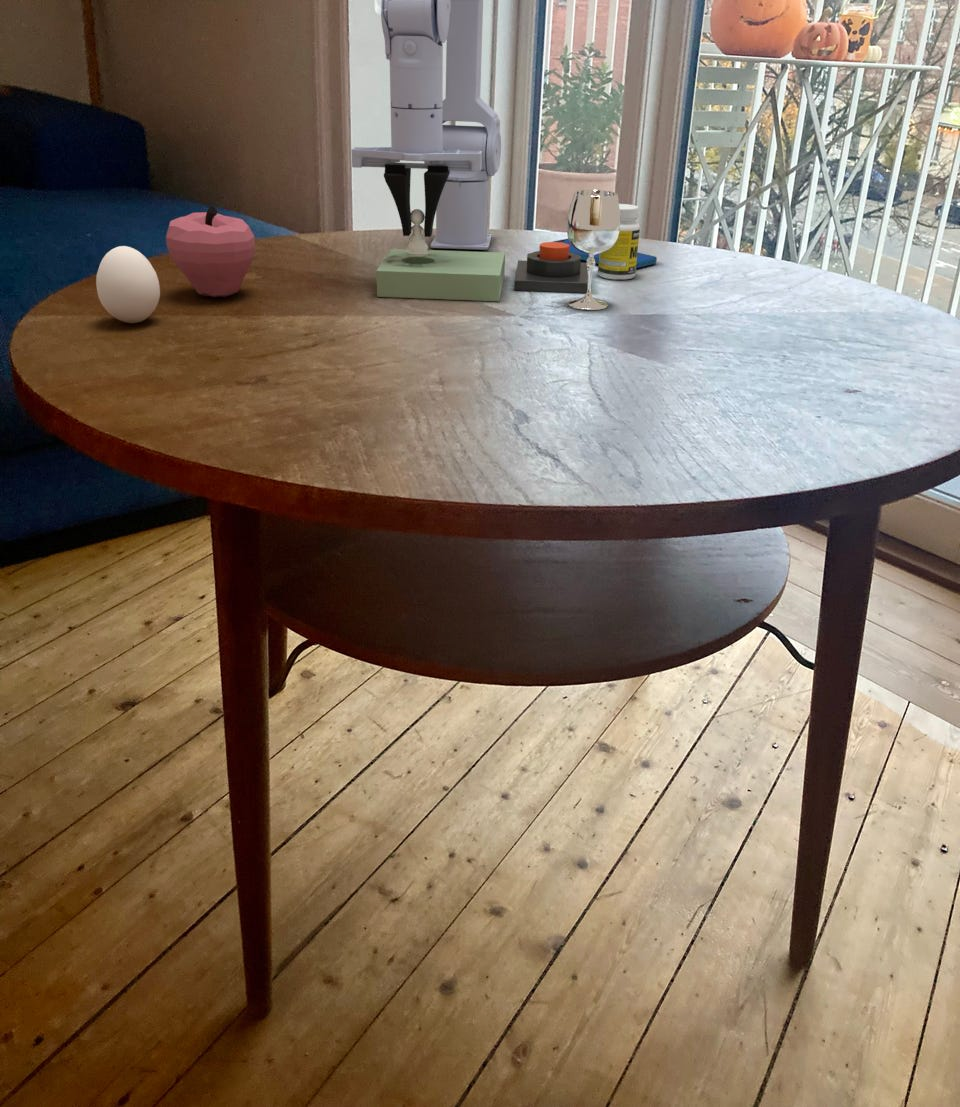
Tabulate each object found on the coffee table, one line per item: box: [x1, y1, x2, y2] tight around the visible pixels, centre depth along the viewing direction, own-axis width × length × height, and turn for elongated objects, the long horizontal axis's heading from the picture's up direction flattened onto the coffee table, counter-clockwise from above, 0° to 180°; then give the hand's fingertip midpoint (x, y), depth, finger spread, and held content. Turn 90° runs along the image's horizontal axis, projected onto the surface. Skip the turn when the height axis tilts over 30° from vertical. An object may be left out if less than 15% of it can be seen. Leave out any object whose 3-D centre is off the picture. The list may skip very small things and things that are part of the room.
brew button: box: [538, 241, 570, 260], centre depth 120 cm, size 4×4×2 cm
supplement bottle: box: [597, 203, 641, 281], centre depth 123 cm, size 5×5×8 cm
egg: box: [95, 245, 161, 324], centre depth 100 cm, size 6×6×8 cm
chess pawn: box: [405, 208, 430, 256], centre depth 115 cm, size 3×3×5 cm
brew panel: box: [514, 250, 588, 294], centre depth 121 cm, size 11×9×3 cm
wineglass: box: [566, 189, 620, 311], centre depth 109 cm, size 6×6×12 cm
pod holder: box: [375, 248, 506, 302], centre depth 117 cm, size 12×14×3 cm
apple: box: [165, 205, 256, 298], centre depth 110 cm, size 10×9×10 cm
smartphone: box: [552, 238, 658, 269], centre depth 133 cm, size 7×1×15 cm
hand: (417, 234), depth 115 cm, fingers closed
